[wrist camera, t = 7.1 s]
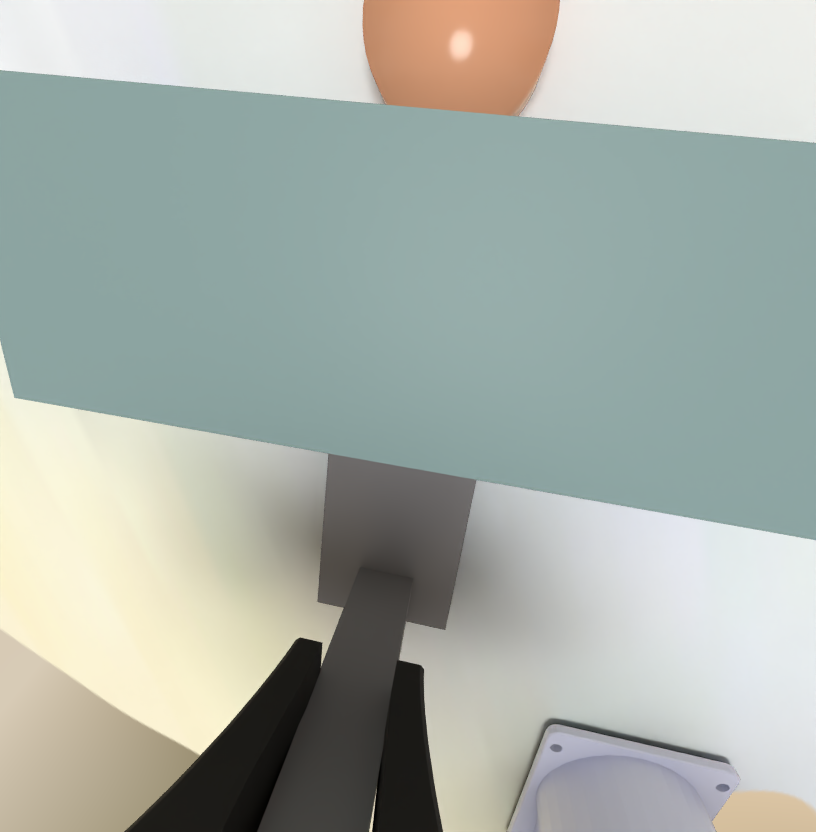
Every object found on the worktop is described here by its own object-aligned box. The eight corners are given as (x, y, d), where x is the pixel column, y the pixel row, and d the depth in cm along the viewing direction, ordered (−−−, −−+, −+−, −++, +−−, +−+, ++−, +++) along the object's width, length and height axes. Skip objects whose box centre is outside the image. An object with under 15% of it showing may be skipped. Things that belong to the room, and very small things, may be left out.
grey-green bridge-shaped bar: (714, 457, 12) (841, 545, 8) (146, 364, 14) (14, 397, 10) (821, 216, 10) (1082, 166, 6) (120, 142, 12) (-69, 64, 7)
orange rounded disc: (521, 163, 11) (530, 143, 9) (369, 144, 11) (354, 122, 9) (566, -49, 9) (587, -116, 8) (388, -63, 9) (373, -128, 8)
